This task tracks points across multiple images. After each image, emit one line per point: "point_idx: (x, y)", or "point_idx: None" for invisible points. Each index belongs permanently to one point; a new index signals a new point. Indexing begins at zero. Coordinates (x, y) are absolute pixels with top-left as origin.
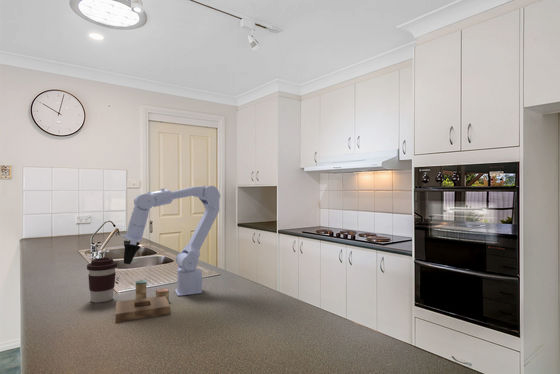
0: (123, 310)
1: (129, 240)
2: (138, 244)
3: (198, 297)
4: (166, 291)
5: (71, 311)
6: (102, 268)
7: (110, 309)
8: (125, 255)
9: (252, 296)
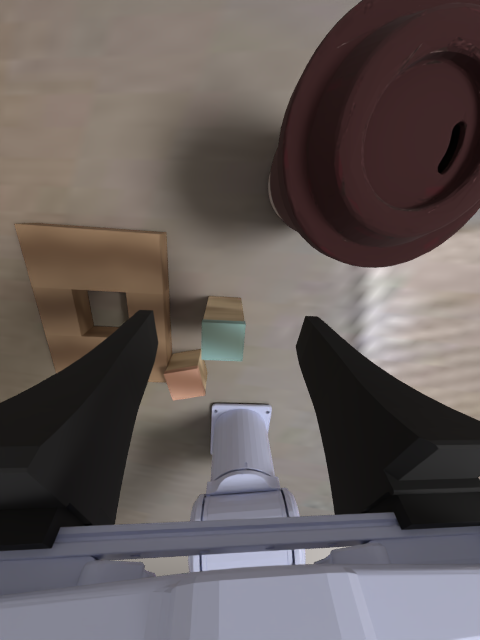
0: (47, 252)
1: (466, 495)
2: (336, 507)
3: (181, 439)
4: (171, 392)
5: (211, 48)
6: (279, 149)
7: (172, 212)
8: (97, 352)
9: (141, 518)
